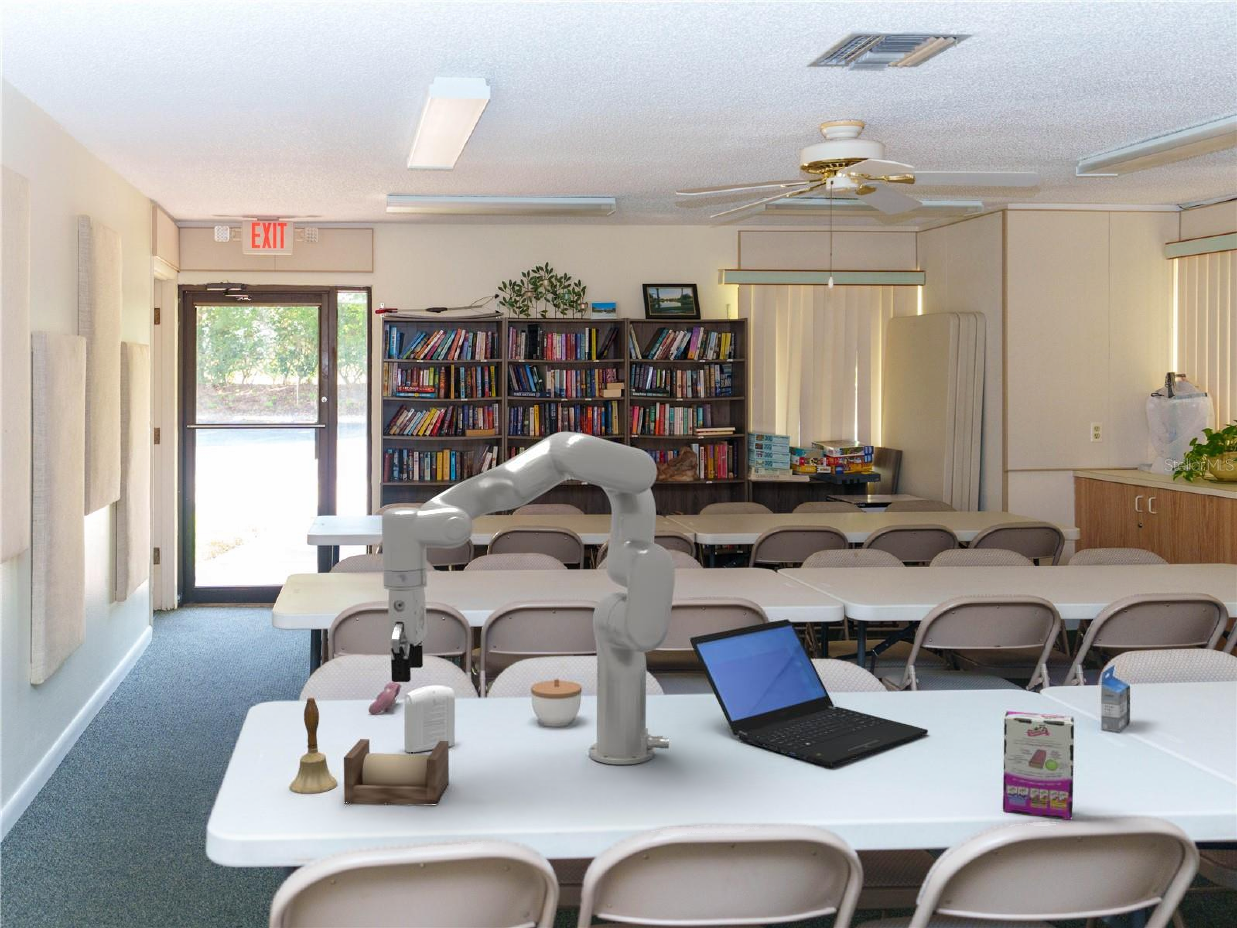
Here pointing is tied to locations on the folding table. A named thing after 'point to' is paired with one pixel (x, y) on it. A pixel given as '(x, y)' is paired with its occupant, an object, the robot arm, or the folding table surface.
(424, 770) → the paper roll
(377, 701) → the pink rounded lump
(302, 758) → the hand bell
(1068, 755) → the candy bar box
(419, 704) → the photo printer
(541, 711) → the lidded jar
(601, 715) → the robot arm
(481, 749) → the folding table surface
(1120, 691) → the label tape box
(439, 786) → the roll cradle
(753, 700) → the laptop
